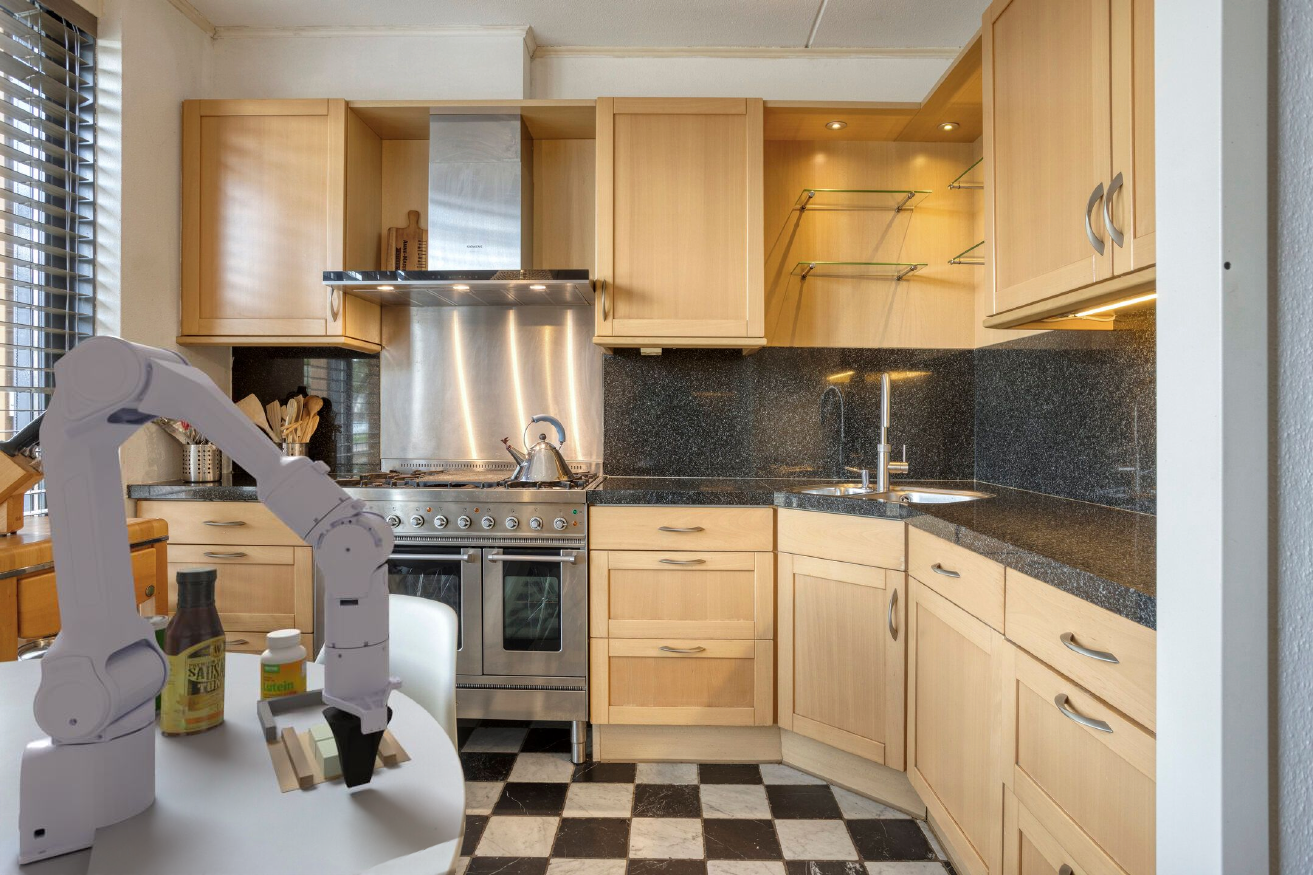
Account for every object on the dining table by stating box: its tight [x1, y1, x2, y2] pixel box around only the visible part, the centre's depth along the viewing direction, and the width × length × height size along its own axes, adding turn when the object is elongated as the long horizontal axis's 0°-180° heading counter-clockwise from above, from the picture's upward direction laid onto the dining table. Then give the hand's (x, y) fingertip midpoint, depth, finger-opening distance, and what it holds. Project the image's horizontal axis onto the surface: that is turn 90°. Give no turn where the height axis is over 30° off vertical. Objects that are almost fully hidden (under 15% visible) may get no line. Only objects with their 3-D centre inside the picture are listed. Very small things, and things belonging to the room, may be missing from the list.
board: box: [265, 726, 412, 794], centre depth 75 cm, size 12×14×2 cm
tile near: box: [316, 738, 342, 778], centre depth 72 cm, size 4×4×2 cm
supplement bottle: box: [259, 628, 308, 700], centre depth 92 cm, size 5×5×10 cm
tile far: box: [308, 722, 334, 760], centre depth 76 cm, size 4×4×2 cm
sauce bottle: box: [159, 566, 227, 738], centre depth 82 cm, size 7×6×20 cm
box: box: [256, 687, 326, 742], centre depth 85 cm, size 12×10×3 cm
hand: (357, 782), depth 67 cm, fingers closed
